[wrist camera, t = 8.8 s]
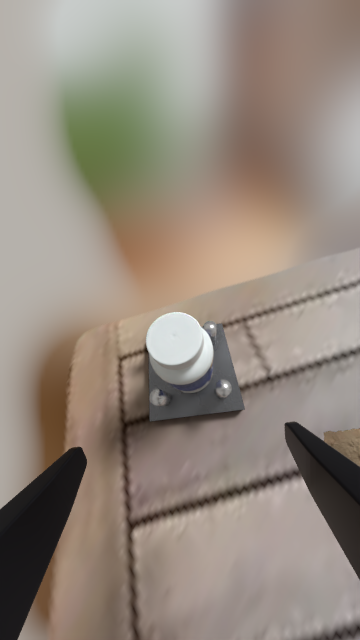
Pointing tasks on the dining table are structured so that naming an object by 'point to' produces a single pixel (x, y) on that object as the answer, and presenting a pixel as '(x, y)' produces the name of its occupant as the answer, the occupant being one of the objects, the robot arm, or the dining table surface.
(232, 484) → the dining table surface
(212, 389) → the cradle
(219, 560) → the dining table surface
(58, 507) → the robot arm
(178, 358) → the pill bottle
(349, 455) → the clay tablet
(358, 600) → the dining table surface
